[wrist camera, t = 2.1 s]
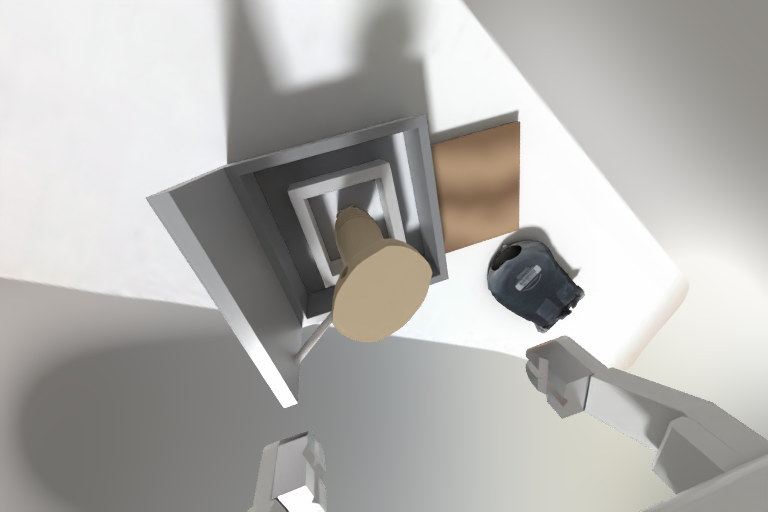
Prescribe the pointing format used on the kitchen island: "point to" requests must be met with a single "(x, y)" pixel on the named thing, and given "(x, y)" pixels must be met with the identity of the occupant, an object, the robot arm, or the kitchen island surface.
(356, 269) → the handle
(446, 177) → the walnut pad
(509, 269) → the electronic device
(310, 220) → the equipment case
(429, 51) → the kitchen island surface
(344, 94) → the kitchen island surface
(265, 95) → the kitchen island surface
